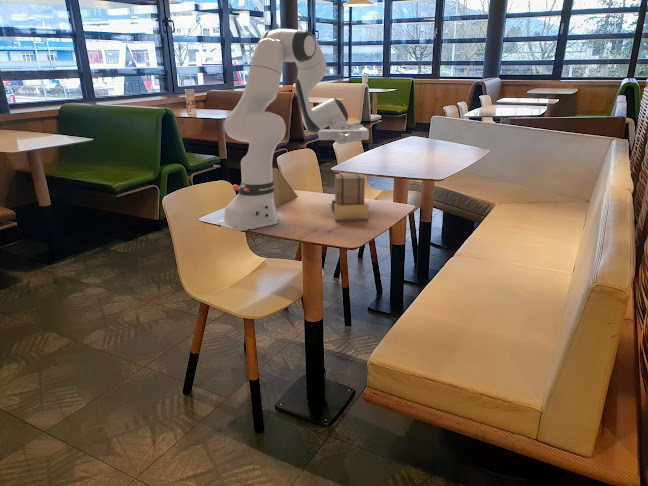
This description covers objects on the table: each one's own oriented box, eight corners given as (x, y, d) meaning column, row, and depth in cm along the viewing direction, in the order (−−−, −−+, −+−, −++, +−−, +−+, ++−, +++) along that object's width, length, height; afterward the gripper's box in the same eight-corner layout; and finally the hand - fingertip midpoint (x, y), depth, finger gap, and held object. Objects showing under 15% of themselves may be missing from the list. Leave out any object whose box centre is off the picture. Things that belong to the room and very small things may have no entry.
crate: (335, 205, 188) (335, 174, 184) (361, 204, 188) (361, 173, 184) (337, 210, 180) (337, 178, 176) (364, 210, 181) (364, 177, 177)
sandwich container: (299, 197, 214) (298, 162, 209) (279, 205, 202) (278, 168, 197) (282, 194, 218) (281, 161, 213) (262, 202, 206) (260, 167, 201)
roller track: (330, 205, 199) (330, 191, 197) (359, 205, 200) (360, 190, 198) (335, 221, 178) (335, 205, 176) (367, 220, 179) (368, 204, 177)
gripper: (316, 125, 202) (318, 128, 189) (366, 124, 203) (371, 128, 190) (316, 140, 204) (318, 145, 191) (365, 140, 205) (370, 144, 192)
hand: (345, 136), depth 190 cm, fingers closed
